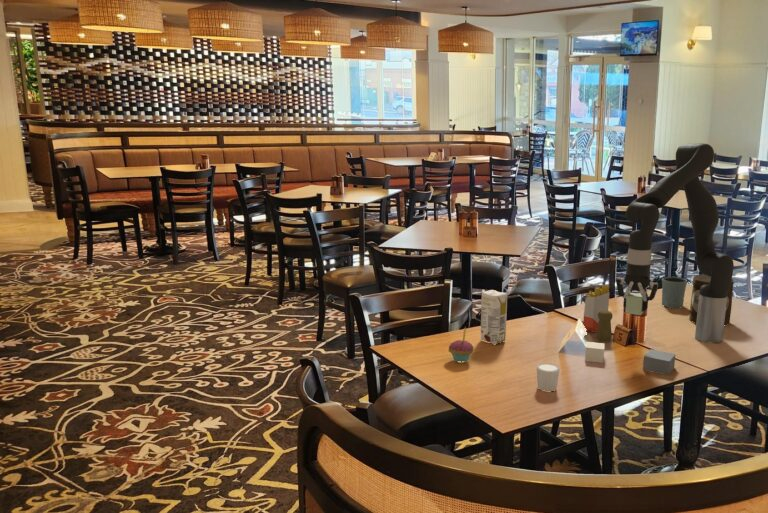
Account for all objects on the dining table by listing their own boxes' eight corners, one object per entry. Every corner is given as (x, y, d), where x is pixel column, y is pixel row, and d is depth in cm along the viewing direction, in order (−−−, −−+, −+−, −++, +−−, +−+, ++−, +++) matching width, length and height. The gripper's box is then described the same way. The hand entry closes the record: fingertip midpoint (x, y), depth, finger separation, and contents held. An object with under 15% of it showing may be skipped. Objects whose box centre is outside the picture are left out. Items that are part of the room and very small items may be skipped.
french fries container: (581, 331, 251) (584, 287, 247) (596, 325, 258) (599, 282, 254) (592, 334, 247) (595, 289, 243) (607, 328, 254) (610, 284, 250)
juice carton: (495, 346, 235) (497, 296, 231) (477, 340, 241) (478, 292, 237) (508, 342, 240) (510, 293, 236) (490, 336, 246) (491, 288, 242)
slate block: (649, 362, 219) (650, 349, 218) (674, 368, 214) (675, 354, 213) (642, 370, 213) (643, 356, 212) (668, 375, 208) (669, 361, 207)
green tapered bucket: (663, 308, 280) (665, 281, 277) (657, 301, 290) (659, 276, 287) (687, 309, 278) (690, 282, 276) (681, 302, 288) (683, 276, 286)
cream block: (585, 355, 226) (586, 341, 225) (603, 357, 224) (604, 343, 223) (584, 361, 221) (585, 347, 220) (603, 363, 219) (604, 349, 218)
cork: (613, 342, 238) (615, 314, 236) (596, 341, 240) (598, 313, 237) (610, 336, 244) (612, 309, 242) (594, 336, 245) (596, 308, 243)
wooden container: (686, 323, 259) (692, 270, 255) (691, 313, 272) (696, 263, 267) (728, 329, 252) (734, 275, 247) (730, 319, 264) (736, 267, 259)
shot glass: (532, 384, 202) (533, 363, 200) (553, 383, 202) (555, 362, 201) (539, 393, 195) (540, 372, 193) (561, 392, 196) (562, 371, 194)
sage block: (629, 309, 224) (630, 292, 222) (644, 311, 221) (645, 294, 220) (625, 312, 220) (626, 296, 218) (640, 315, 217) (641, 298, 216)
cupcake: (459, 354, 227) (459, 322, 225) (478, 360, 222) (479, 327, 219) (443, 360, 222) (443, 327, 219) (462, 367, 216) (463, 333, 213)
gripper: (663, 262, 215) (659, 310, 219) (620, 257, 224) (617, 303, 227) (658, 266, 209) (654, 316, 213) (613, 261, 218) (610, 309, 221)
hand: (635, 309), depth 220 cm, fingers closed on sage block, 5 cm apart
